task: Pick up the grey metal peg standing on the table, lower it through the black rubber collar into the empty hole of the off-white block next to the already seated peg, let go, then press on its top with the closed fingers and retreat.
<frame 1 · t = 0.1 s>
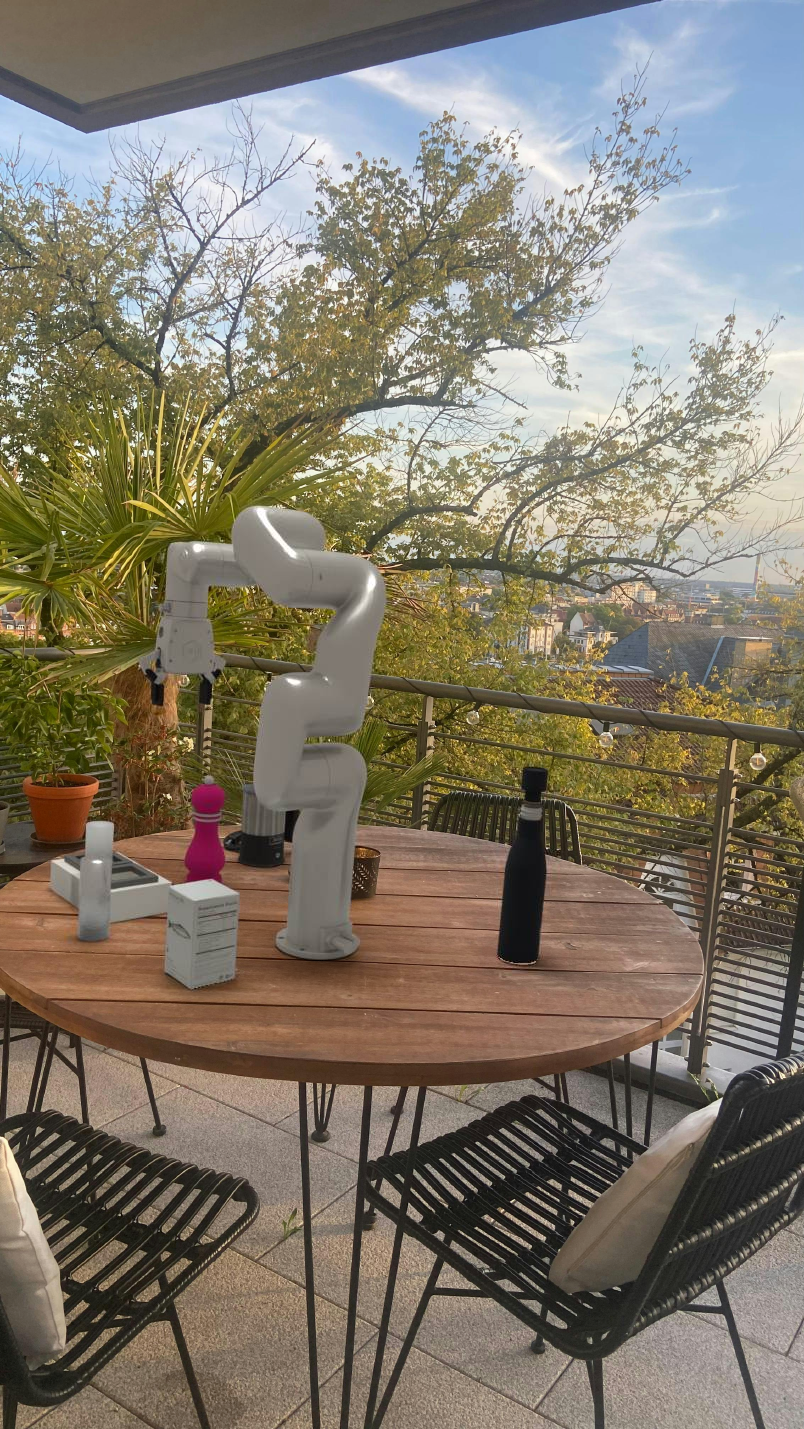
hand: (181, 704, 179), 31 cm above the table, tool pointing down, fingers open, 9 cm apart
peg: (93, 936, 147), on the table
milk frother: (251, 856, 196), on the table
dark water bottle: (517, 959, 151), on the table
supplement box: (199, 977, 136), on the table
pepper mill: (203, 885, 175), on the table
socket block: (109, 900, 163), on the table
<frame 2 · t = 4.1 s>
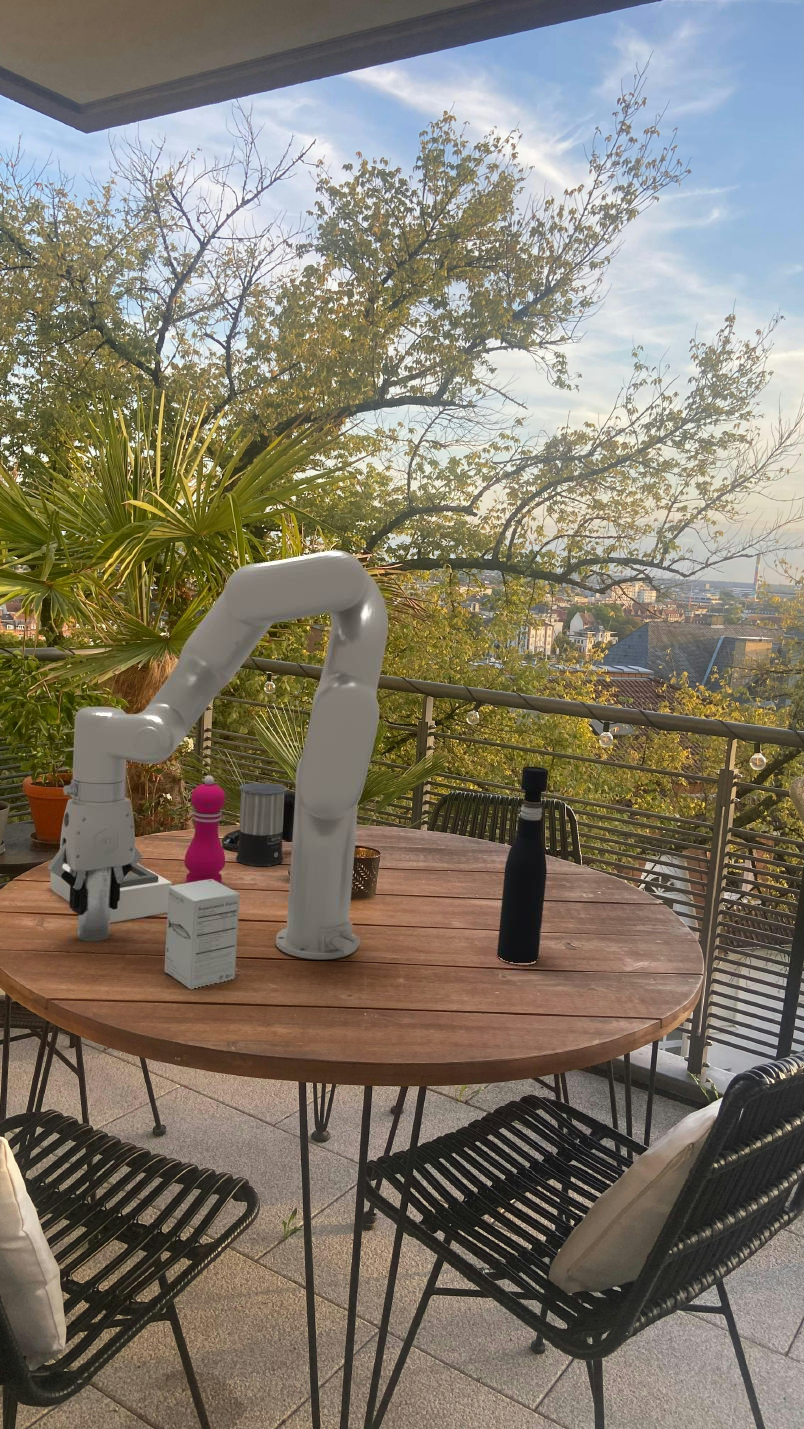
hand: (94, 908, 146), 4 cm above the table, tool pointing down, fingers closed on peg, 4 cm apart
peg: (93, 936, 147), on the table, touching gripper
everything else where it was.
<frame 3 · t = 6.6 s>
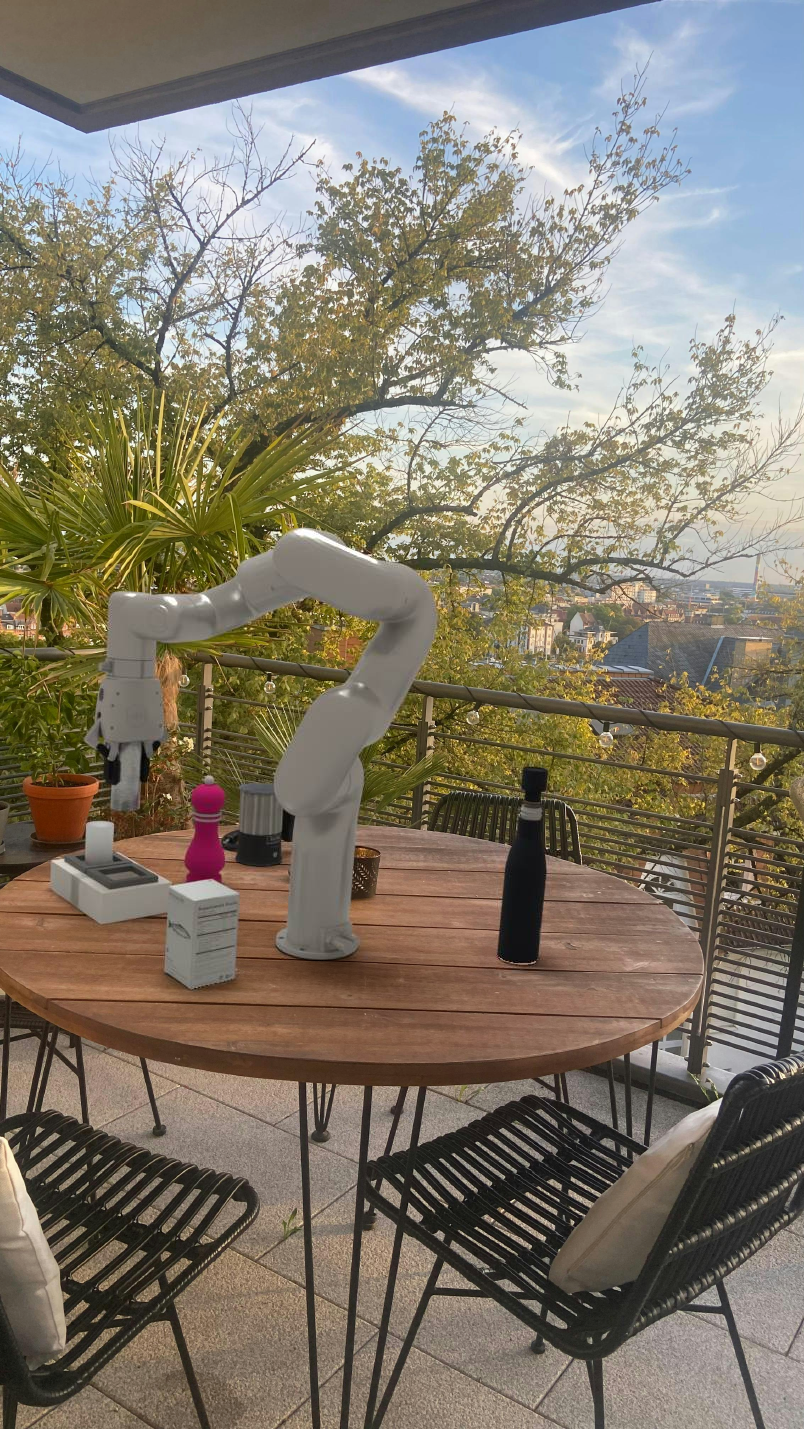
hand: (126, 781, 157), 21 cm above the table, tool pointing down, fingers closed on peg, 4 cm apart
peg: (125, 807, 158), point 17 cm above the table, touching gripper
everything else where it was.
when the fingers open (7 cm above the table, at t = 9.3 s): peg drops 2 cm, resting in socket block.
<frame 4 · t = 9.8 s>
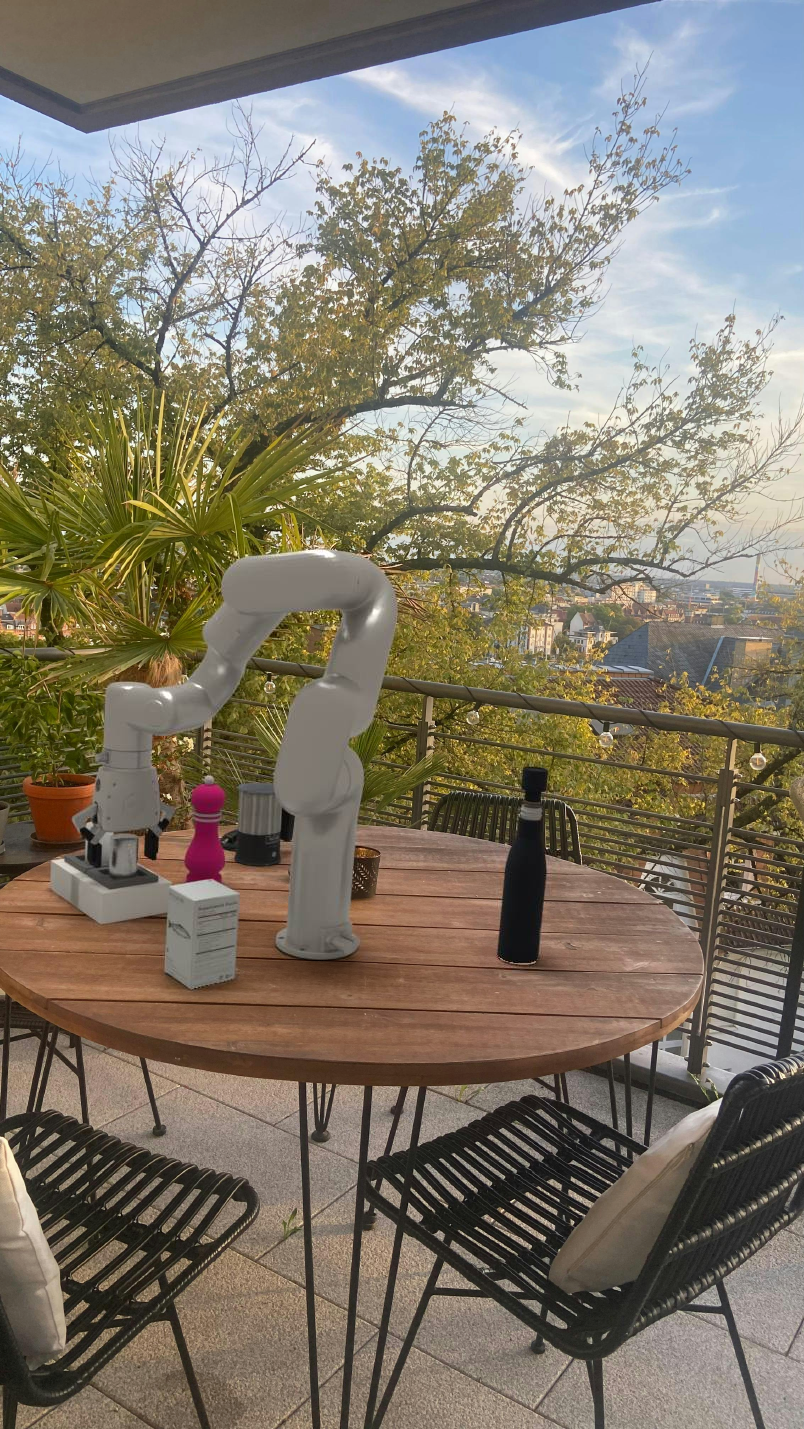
hand: (123, 862, 159), 8 cm above the table, tool pointing down, fingers open, 9 cm apart
peg: (121, 908, 160), resting in socket block
everything else where it was.
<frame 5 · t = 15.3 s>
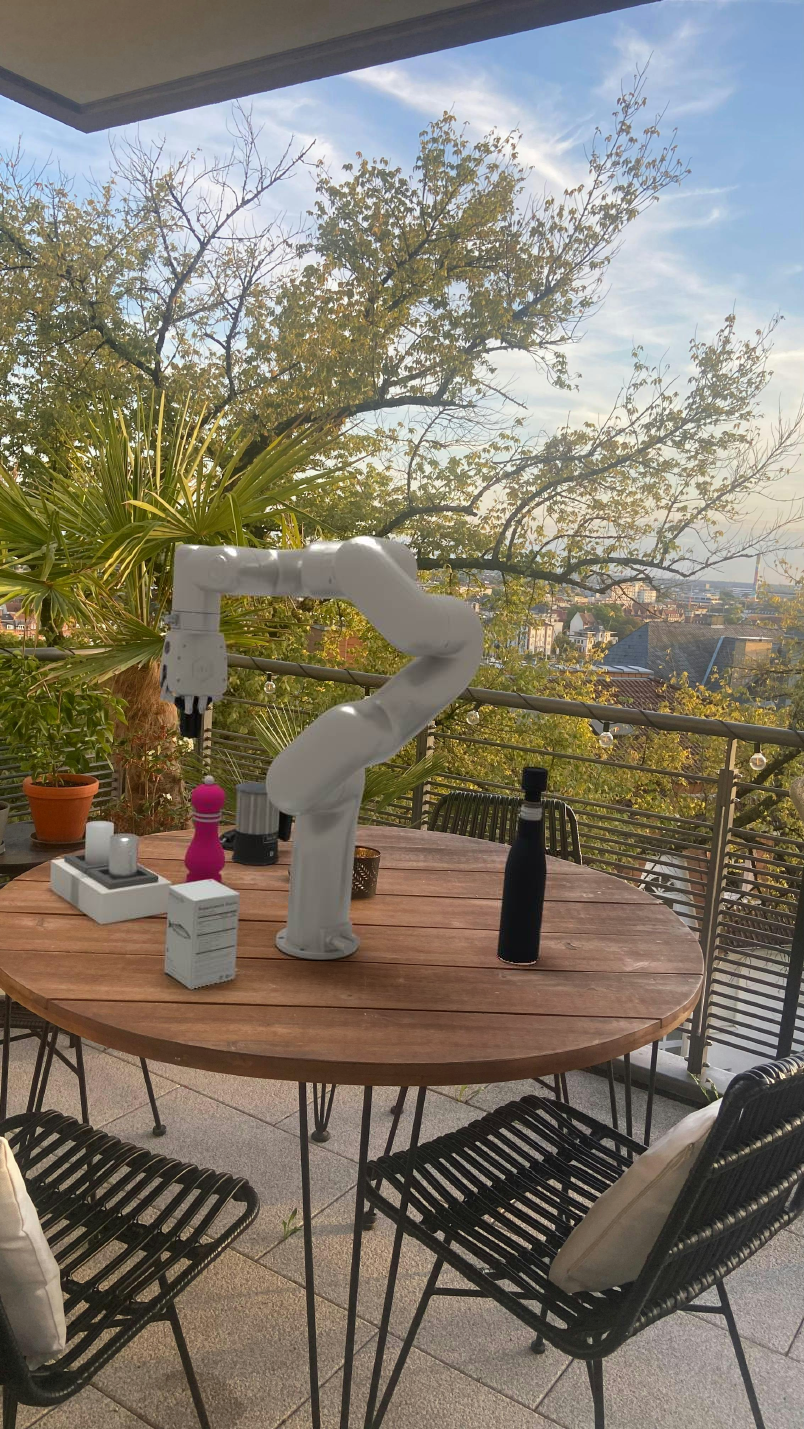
hand: (190, 736, 157), 29 cm above the table, tool pointing down, fingers closed
at the end: peg 0.0 cm from the target spot on the socket block, point 0.0 cm above the socket block's base; peg tilted 0°; the gripper is holding nothing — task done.
